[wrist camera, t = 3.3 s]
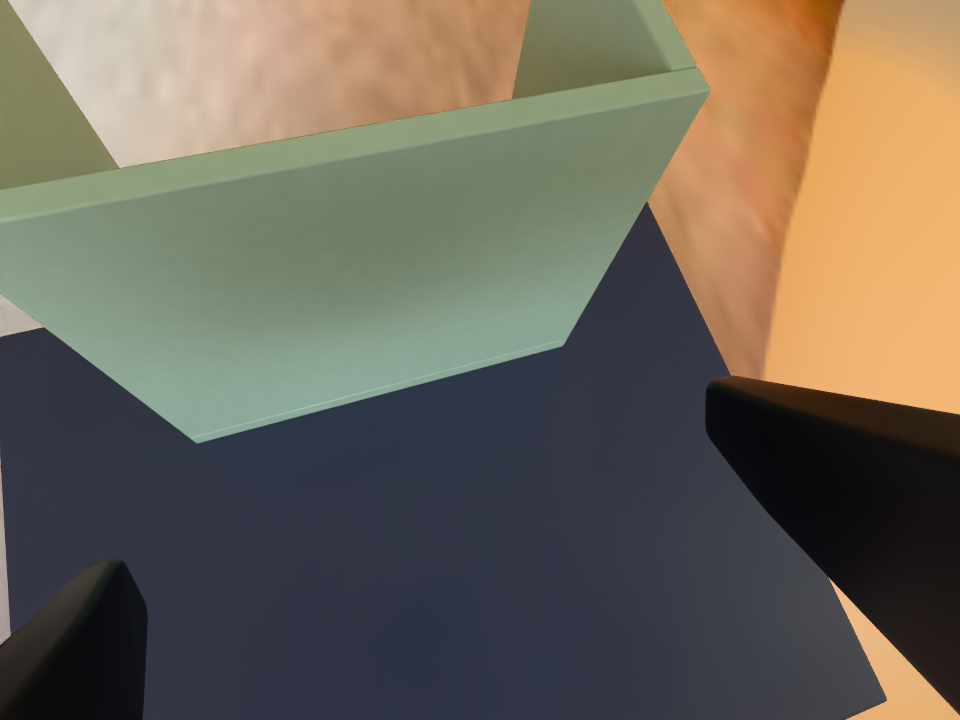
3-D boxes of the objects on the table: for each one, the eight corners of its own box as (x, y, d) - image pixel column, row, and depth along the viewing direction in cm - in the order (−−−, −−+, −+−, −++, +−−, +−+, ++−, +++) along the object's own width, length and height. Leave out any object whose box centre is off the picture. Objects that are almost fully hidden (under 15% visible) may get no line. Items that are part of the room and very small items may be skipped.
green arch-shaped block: (563, 346, 19) (713, 89, 9) (196, 444, 16) (-80, 236, 7) (500, 185, 21) (572, -160, 11) (164, 254, 18) (-86, -103, 9)
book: (799, 683, 20) (889, 701, 16) (124, 968, 15) (34, 1081, 12) (609, 255, 25) (644, 194, 21) (67, 385, 21) (-9, 336, 17)
